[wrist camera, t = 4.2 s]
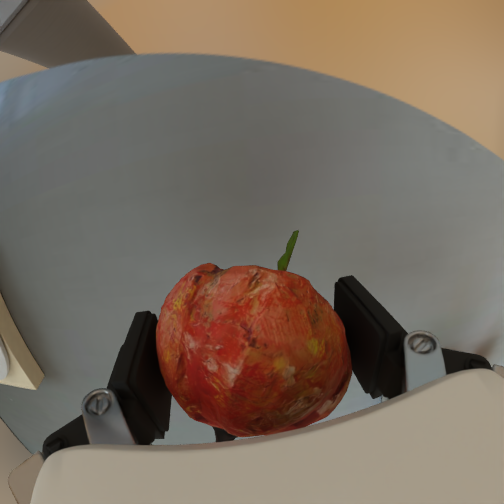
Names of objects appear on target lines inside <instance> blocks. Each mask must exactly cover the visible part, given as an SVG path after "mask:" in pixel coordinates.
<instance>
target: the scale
mask: <svg viewBox="0 0 504 504" xmlns="http://www.w3.org/2000/svg"><path fill="white" fill-rule="evenodd" d="M44 376H45V375H44V374H43V372H42V371H41V369H40V367H39V366H38V364H37V363H36V361H35V360H34V358H33V356H32V355H31V353H30V351H29V349H28V348H27V346H26V344H25V342H24V341H23V339H22V337H21V335H20V333H19V331H18V329H17V328H16V326H15V324H14V322H13V320H12V317H11V315H10V313H9V311H8V309H7V307H6V305H5V302H4V300H3V298H2V295H1V293H0V383H2V384H6V385H11V386H16V387H21V388H27V389H33V390H37V389H38V387H39V385H40V383H41V381H42V380H43V378H44Z"/></svg>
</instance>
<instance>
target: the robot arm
mask: <svg viewBox="0 0 504 504" xmlns="http://www.w3.org/2000/svg"><path fill="white" fill-rule="evenodd" d="M334 311H335V312H336V313H337V314H338V316H339V317H340V319H341V320H342V323H343V325H344V328H345V334H346V339H347V343H348V346H349V349H350V355H351V364H352V371H353V372H354V374H355V376H356V377H357V379H358V381H359V383H360V385H361V386H362V388H363V390H364V391H365V393H370V395H371V397H372V398H373V399H375V398H377V397H380V396H382V395H383V397H386V398H387V399H386V401H384V402H382V403H379V404H376V405H374V406H371V407H369V408H366V409H363V410H360V411H357V412H354V413H351V414H348V415H345V416H342V417H339V418H336V419H332V420H329V421H326V422H322V423H318V424H315V425H311V426H307V427H303V428H299V429H295V430H290V431H286V432H281V433H276V434H271V435H266V436H260V437H254V438H248V439H241V440H233V441H225V442H215V443H204V444H189V445H152V442H153V441H154V440H155V439H164V435H165V431H168V430H169V420H170V409H171V398H172V394H171V392H170V391H169V389H168V388H167V386H166V384H165V381H164V378H163V376H162V374H161V371H160V367H159V361H158V355H157V349H156V329H157V323H158V320H157V317H156V315H155V314H151V312H150V311H143V312H137V313H136V314H135V316H134V319H133V321H132V324H131V327H130V329H129V332H128V334H127V337H126V340H125V342H124V345H122V346H121V348H120V351H119V354H118V357H117V359H116V362H115V365H114V368H113V371H112V374H111V377H110V380H109V383H108V386H107V389H106V388H100V389H96V390H93V391H91V392H90V393H89V394H87V395H86V396H85V398H84V399H83V401H82V404H81V410H82V415H80V416H79V417H77V418H76V419H74V420H73V421H71V422H70V423H68V424H67V425H65V426H63V427H62V428H60V429H59V430H57V431H56V432H54V433H52V434H51V435H50V436H48V437H47V438H46V440H45V441H44V444H43V452H42V453H41V452H40V451H37V452H36V453H35V454H33V455H32V456H31V457H30V458H28V459H27V460H25V461H24V462H23V463H22V464H20V465H19V466H18V467H16V468H15V469H13V470H12V471H11V473H10V474H9V477H8V484H9V487H10V489H11V491H12V493H13V495H14V497H15V499H16V501H17V503H18V504H504V367H503V366H499V365H495V364H494V365H493V367H491V365H490V363H489V362H488V361H487V360H486V359H485V358H484V357H482V356H480V355H476V354H470V353H465V352H459V351H454V350H449V349H443V348H441V345H440V342H439V340H438V338H437V337H436V336H435V335H433V334H432V333H430V332H427V331H422V330H418V331H413V332H410V333H409V334H408V333H407V332H406V331H405V330H404V329H403V328H402V326H401V325H400V324H399V323H398V322H397V321H396V320H395V319H394V318H393V317H392V316H391V315H390V313H389V312H388V311H387V310H386V309H385V308H384V307H383V306H382V305H381V304H380V303H379V302H378V301H377V300H376V299H375V298H374V297H373V296H372V295H371V294H370V293H369V292H368V291H367V290H366V289H365V288H364V287H363V286H362V284H361V283H360V282H359V281H358V280H357V279H356V278H355V277H354V276H352V275H351V276H346V277H341V278H339V280H338V282H336V283H335V292H334Z"/></svg>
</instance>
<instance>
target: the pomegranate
mask: <svg viewBox="0 0 504 504" xmlns="http://www.w3.org/2000/svg"><path fill="white" fill-rule="evenodd" d="M298 233H299V231H298V230H296V231H294V232H293V234H292V236H291V238H290V239H289V241H288V243H287V247H286V252H285V254H284V255H283V256H282V257H281V258H280V260H279V261H278V270H271V269H267V268H264V267H260V266H256V265H250V266H233V267H231V268H228V269H226V270H223V269H220V268H219V267H218V266H217V265H214V264H211V263H207V264H203V265H200V266H198V267H196V268H194V269H193V270H191V271H190V272H188V273H187V274H186V275H185V276H184V277H183V278H181V280H180V281H179V282H178V283H177V284H176V285H175V286H174V288H173V289H172V290H171V292H170V293H169V294H168V296H167V297H166V299H165V302H164V304H163V306H162V307H161V314H160V316H159V320H158V323H157V329H156V349H157V355H158V361H159V367H160V371H161V374H162V376H163V378H164V381H165V384H166V386H167V388H168V389H169V391H170V392H171V394H172V395H173V397H174V398H175V399H176V401H177V402H178V404H179V405H180V406H181V407H182V409H183V410H184V411H185V412H186V413H187V414H188V416H189V417H190V418H192V419H194V420H196V421H198V422H202V423H205V424H208V425H210V426H212V427H213V429H214V431H215V435H216V442H225V441H233V440H234V439H235V438H236V437H250V436H259V435H271V434H276V433H281V432H286V431H290V430H295V429H299V428H303V427H306V426H308V425H310V424H312V423H314V422H317V421H319V420H321V419H323V418H325V417H327V416H328V415H329V414H330V413H331V412H332V411H333V410H334V409H335V408H336V406H337V405H338V404H339V403H340V401H341V400H342V398H343V396H344V395H345V393H346V391H347V388H348V385H349V382H350V379H351V376H352V364H351V355H350V349H349V346H348V343H347V339H346V334H345V328H344V325H343V323H342V320H341V319H340V317H339V316H338V314H337V313H336V312H335V311H334V310H333V309H332V306H331V305H330V304H329V303H328V301H327V300H326V299H324V298H323V297H322V296H321V295H320V294H319V293H318V292H317V291H316V290H315V289H314V288H313V287H312V285H311V284H310V282H309V280H307V279H306V278H304V277H302V276H299V275H297V274H294V273H290V272H287V271H286V270H287V267H288V264H289V261H290V258H291V255H292V252H293V249H294V246H295V243H296V240H297V237H298Z"/></svg>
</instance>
